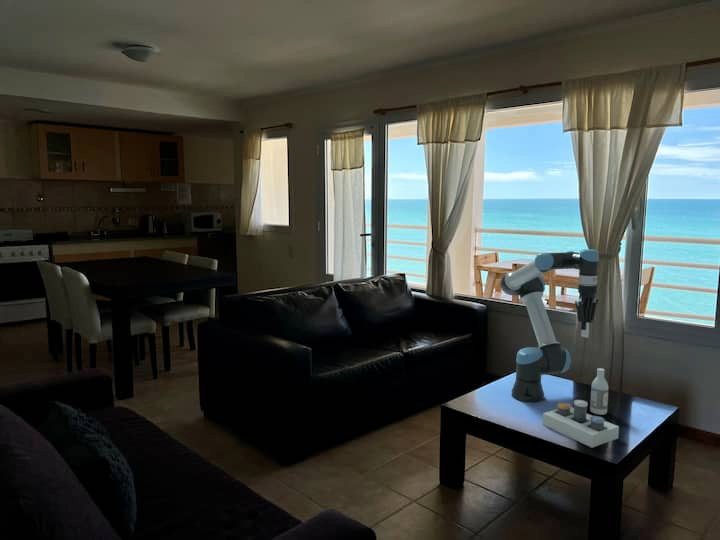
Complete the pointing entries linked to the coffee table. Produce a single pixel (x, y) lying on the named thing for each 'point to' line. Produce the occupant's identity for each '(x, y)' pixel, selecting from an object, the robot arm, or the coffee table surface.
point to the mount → (580, 428)
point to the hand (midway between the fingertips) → (584, 336)
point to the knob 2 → (580, 411)
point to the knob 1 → (564, 409)
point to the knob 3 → (597, 423)
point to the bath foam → (599, 394)
